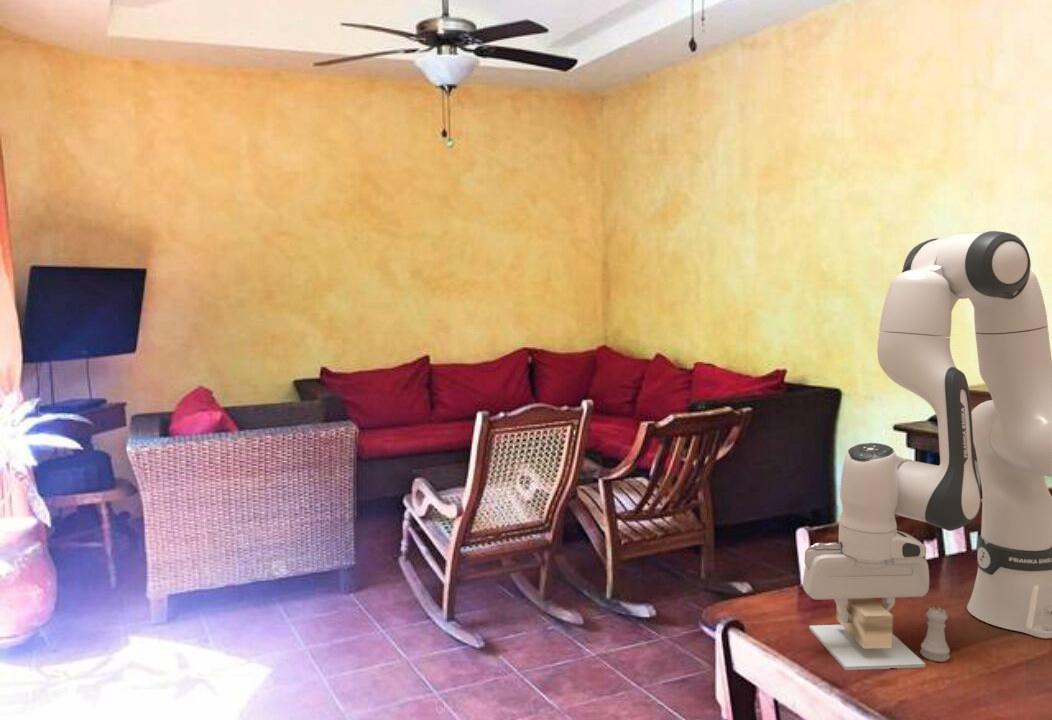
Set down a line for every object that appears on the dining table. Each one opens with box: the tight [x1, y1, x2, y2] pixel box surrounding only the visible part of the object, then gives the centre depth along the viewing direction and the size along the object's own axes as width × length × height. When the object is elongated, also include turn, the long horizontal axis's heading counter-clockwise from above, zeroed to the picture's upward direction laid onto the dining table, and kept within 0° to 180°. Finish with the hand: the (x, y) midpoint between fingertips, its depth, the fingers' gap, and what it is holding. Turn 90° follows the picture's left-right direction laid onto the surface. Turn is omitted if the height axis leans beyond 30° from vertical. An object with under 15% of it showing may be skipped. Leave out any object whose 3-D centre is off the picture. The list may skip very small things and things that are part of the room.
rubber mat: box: [808, 624, 926, 671], centre depth 139 cm, size 13×15×1 cm
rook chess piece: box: [919, 606, 951, 663], centre depth 135 cm, size 4×4×8 cm
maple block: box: [835, 598, 894, 649], centre depth 138 cm, size 11×4×6 cm, turn 2°
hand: (863, 621), depth 138 cm, fingers closed on maple block, 4 cm apart
